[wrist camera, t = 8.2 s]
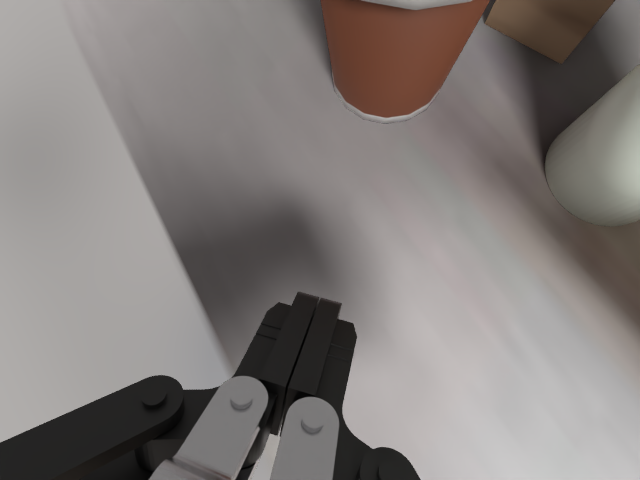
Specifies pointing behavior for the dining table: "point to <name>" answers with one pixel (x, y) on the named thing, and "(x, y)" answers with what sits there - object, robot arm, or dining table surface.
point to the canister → (601, 159)
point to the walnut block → (547, 23)
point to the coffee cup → (395, 52)
